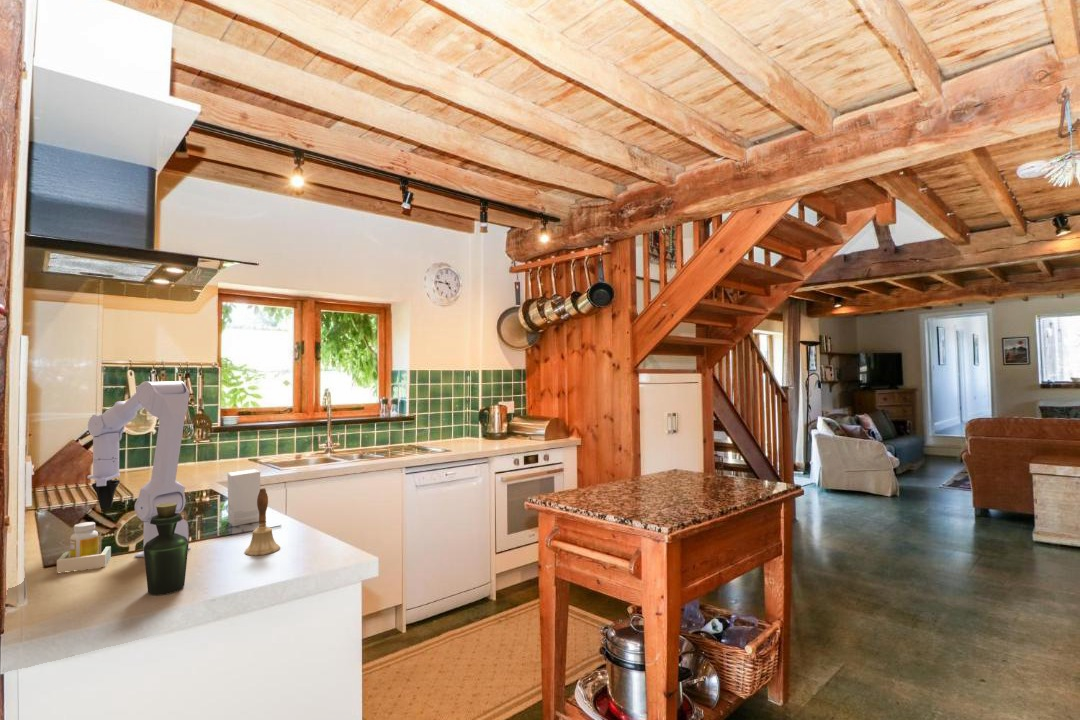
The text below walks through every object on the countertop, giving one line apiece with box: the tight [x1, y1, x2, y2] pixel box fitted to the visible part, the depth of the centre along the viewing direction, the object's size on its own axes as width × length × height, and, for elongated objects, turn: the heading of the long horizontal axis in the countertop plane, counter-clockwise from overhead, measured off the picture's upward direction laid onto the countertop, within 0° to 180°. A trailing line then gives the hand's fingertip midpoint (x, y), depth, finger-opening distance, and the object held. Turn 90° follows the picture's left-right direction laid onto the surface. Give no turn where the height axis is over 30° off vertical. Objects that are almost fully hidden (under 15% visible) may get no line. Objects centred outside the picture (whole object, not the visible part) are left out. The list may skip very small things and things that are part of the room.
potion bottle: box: [143, 503, 190, 596], centre depth 121 cm, size 8×8×18 cm
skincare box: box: [227, 468, 261, 527], centre depth 176 cm, size 8×7×16 cm
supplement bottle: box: [69, 521, 99, 558], centre depth 138 cm, size 5×5×10 cm
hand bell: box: [244, 487, 281, 556], centre depth 148 cm, size 8×8×16 cm
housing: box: [56, 545, 112, 573], centre depth 137 cm, size 8×9×3 cm
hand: (106, 508), depth 155 cm, fingers closed
